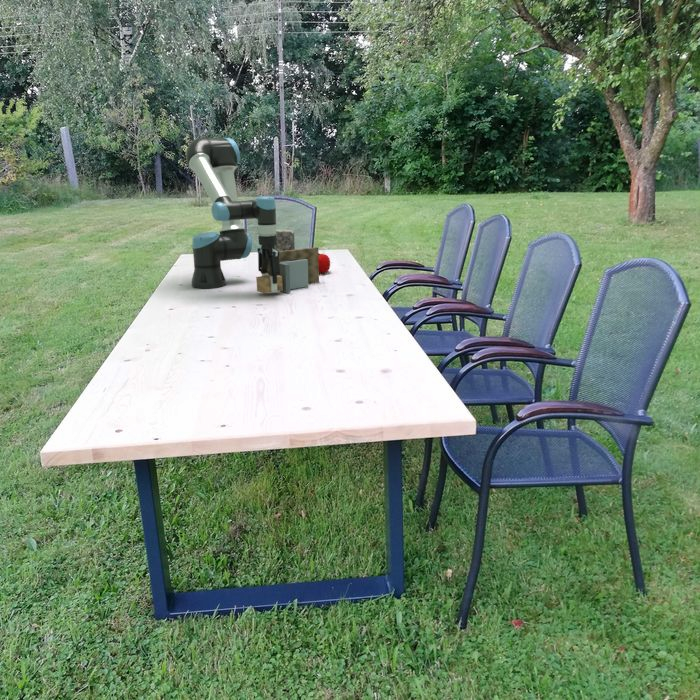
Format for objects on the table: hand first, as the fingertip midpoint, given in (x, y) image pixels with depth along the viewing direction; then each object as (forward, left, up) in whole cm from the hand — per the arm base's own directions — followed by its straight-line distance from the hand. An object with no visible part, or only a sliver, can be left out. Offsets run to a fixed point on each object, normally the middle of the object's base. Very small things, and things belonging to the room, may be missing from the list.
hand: (269, 289), depth 268 cm
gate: (+14, +1, -2) cm, 14 cm away
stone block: (+37, +47, -2) cm, 60 cm away
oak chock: (0, 0, 0) cm, 0 cm away
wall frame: (+19, +9, -2) cm, 21 cm away
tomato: (+45, +26, -2) cm, 52 cm away
